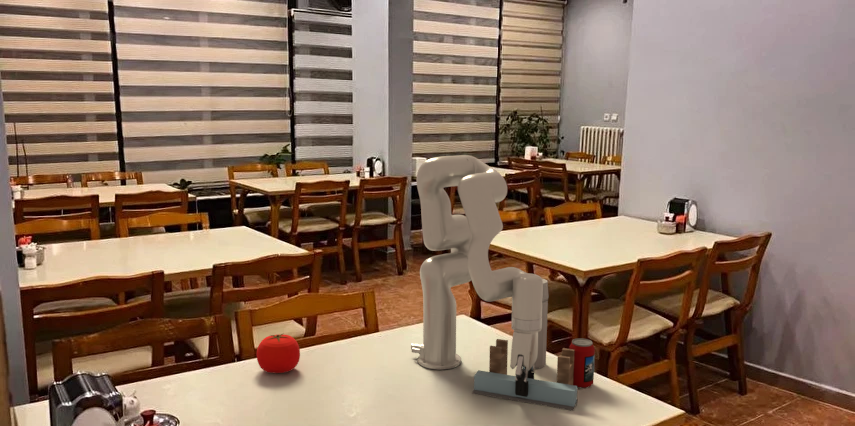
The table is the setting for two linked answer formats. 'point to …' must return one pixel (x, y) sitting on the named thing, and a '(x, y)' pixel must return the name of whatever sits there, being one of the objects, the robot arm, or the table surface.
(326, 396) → the table surface
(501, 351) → the post
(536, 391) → the rail
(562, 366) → the post
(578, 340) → the beverage can
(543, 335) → the water bottle
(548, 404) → the mat
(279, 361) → the tomato
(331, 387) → the table surface
